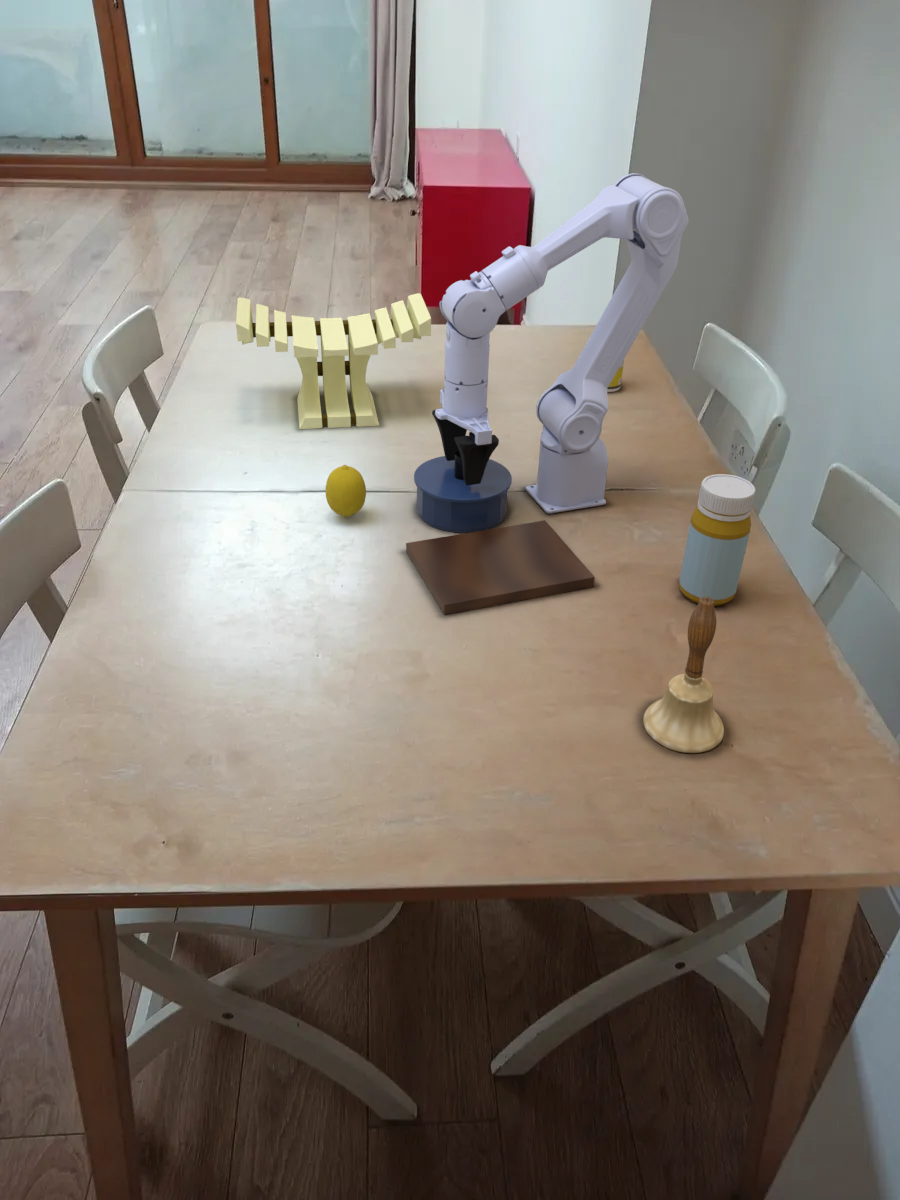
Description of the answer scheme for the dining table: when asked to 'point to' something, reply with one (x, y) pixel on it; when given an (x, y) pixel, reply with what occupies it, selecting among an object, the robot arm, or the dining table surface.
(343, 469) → the lemon
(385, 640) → the dining table surface
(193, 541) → the dining table surface
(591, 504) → the robot arm
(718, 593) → the bottle
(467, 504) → the tin
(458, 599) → the board
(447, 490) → the lid
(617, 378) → the supplement bottle
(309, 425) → the slatted curved stool
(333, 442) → the dining table surface
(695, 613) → the hand bell
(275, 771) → the dining table surface
